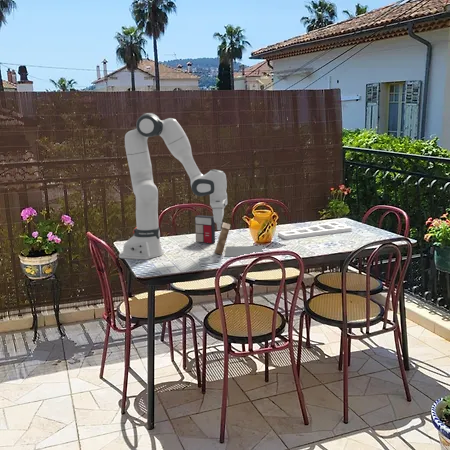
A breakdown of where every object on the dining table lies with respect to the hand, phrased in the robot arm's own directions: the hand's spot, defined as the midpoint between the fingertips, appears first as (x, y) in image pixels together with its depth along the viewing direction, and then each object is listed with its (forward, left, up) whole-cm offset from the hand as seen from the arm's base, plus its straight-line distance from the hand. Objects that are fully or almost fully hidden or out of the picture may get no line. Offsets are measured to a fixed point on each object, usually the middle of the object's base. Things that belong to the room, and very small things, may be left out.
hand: (219, 227), depth 244 cm
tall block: (-1, 0, -12) cm, 12 cm away
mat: (+13, 0, -13) cm, 18 cm away
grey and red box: (-10, +19, -13) cm, 25 cm away
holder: (+52, +41, -14) cm, 68 cm away
